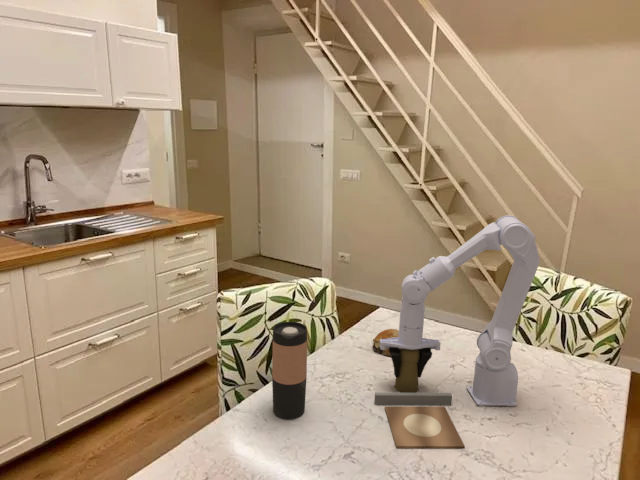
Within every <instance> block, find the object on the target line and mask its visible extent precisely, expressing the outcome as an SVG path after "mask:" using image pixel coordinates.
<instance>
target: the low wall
mask: <svg viewBox="0 0 640 480" xmlns="http://www.w3.org/2000/svg"><path fill="white" fill-rule="evenodd" d="M452 401H453V394H452V393H451V392H417V393H400V392H387V391H386V392H381V391H380V392H378V391H377V392H374V406H375V405H376V406H452Z"/></svg>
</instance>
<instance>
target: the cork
mask: <svg viewBox="0 0 640 480" xmlns="http://www.w3.org/2000/svg"><path fill="white" fill-rule="evenodd" d="M399 351H400V355H401V358H400V363H399V377H395V380H394V381H395V382H394V389H395V391H397V393H419V390H420V389H419V388H420V386H419V377H418V367H417V361H418V360H419V357H420V352H419V349H415V350H411V349H399Z"/></svg>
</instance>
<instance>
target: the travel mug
mask: <svg viewBox="0 0 640 480" xmlns="http://www.w3.org/2000/svg"><path fill="white" fill-rule="evenodd" d="M271 356H272V357H271V359H272V362H271V363H272V366H271V368H272V369H271V375H272V377H271V378H272V379H271V381H272V383H271V385H272V410H273V414H274V415H275V416H276V417H277V418H279V419H282V420H295V419H298V418H300V417H302V416H303V415H304V413H305V409H306V406H305V405H306V396H307V395H306V393H307V376H308V375H307V374H308V372H307V370H308V366H307V365H308V362H307V361H308V328H307V326H306V325H305V324H303V323H301V322H298V321H297V322H296V321H283V322H279V323H277V324H275V325H274V326H273V328H272V355H271Z"/></svg>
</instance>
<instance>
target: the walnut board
mask: <svg viewBox="0 0 640 480" xmlns="http://www.w3.org/2000/svg"><path fill="white" fill-rule="evenodd" d="M384 411H385V414H386V418H387V421H388V425H389V429H390V431H391V436H392V439H393V442H394V446H395V449H465V447H466V446H465V444H464V441H463V440H462V438H461V436H460V434H459V432H458V430H457V428H456V426H455V424H454V423H453V420H452V419H451V416H450V414H449V412H448V411H447V408H446V406H402V405H384Z"/></svg>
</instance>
